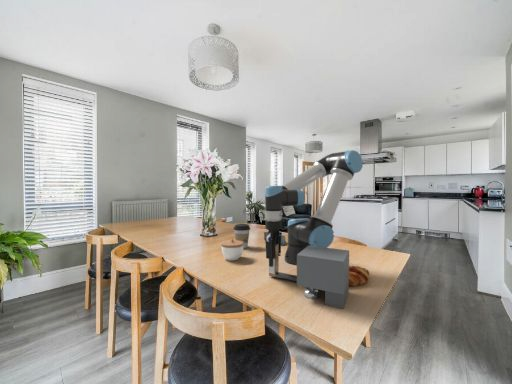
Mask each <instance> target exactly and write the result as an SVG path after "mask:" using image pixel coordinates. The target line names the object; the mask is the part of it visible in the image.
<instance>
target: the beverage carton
mask: <svg viewBox="0 0 512 384" xmlns="http://www.w3.org/2000/svg"><path fill="white" fill-rule="evenodd" d="M263 235H264V237H263V239H264V241H265V237H267V236H268V231H264V233H263ZM286 242H287V241H286V236H285V235H283V234H282V236H281V246H283V245H286Z"/></svg>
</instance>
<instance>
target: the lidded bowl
mask: <svg viewBox="0 0 512 384" xmlns="http://www.w3.org/2000/svg"><path fill="white" fill-rule="evenodd" d="M243 245H244V242H242V241H239V240H235V239H234V238H231V239H229V240H224V241H221V243H220V246H221V253H222V256H223V257H224V258H225V259H226V260H227V261H238V260H239V259H240V257H241V256H242V255H243V252H244V249H243Z"/></svg>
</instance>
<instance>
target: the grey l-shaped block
mask: <svg viewBox="0 0 512 384" xmlns="http://www.w3.org/2000/svg"><path fill="white" fill-rule="evenodd" d="M349 267H350V250H347V249H341V248H332V247H327V248H324V247H316V246H307V247H306V248H305V249H303V250H302V251H301V252H300V253H299V254H297V265H296V276H297V281H296V286H300V287H305V288H314V289H317V290H318V291H319V290H320V291H324V293H325V294H324V305H325V306H331V307H333V308H334V307H335V308H338V309H343V310H344V309H345V305H346V302H347V299H348V296H349V292H350V291H349V288H350V286H349Z"/></svg>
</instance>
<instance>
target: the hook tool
mask: <svg viewBox="0 0 512 384" xmlns="http://www.w3.org/2000/svg"><path fill="white" fill-rule="evenodd" d="M278 257H279V256H278V244H275V251H274V259H275V274H272V273H269V272H268V276H269V277H275V278H279V279H284V280H289V281H295V282H297V274H296V275H295V274H290V273H285V272H280V271H278Z"/></svg>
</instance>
